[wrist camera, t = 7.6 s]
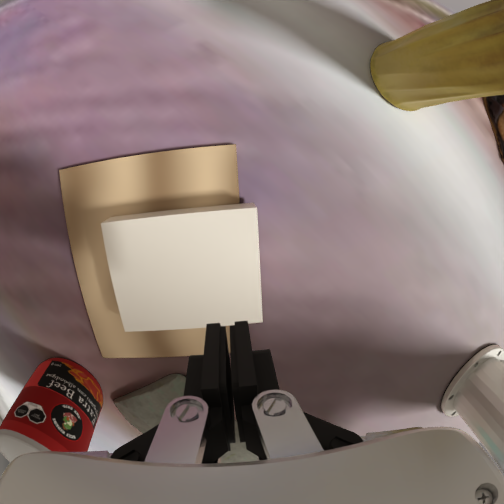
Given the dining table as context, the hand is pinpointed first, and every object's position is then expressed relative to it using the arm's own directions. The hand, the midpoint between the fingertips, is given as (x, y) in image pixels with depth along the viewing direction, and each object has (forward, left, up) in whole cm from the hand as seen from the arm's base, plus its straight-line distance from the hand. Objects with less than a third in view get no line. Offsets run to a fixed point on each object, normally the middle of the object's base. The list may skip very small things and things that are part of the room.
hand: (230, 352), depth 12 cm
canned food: (+17, +12, -11) cm, 23 cm away
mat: (+5, 0, -11) cm, 12 cm away
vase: (-15, -14, -11) cm, 23 cm away
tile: (-2, 0, -9) cm, 9 cm away
